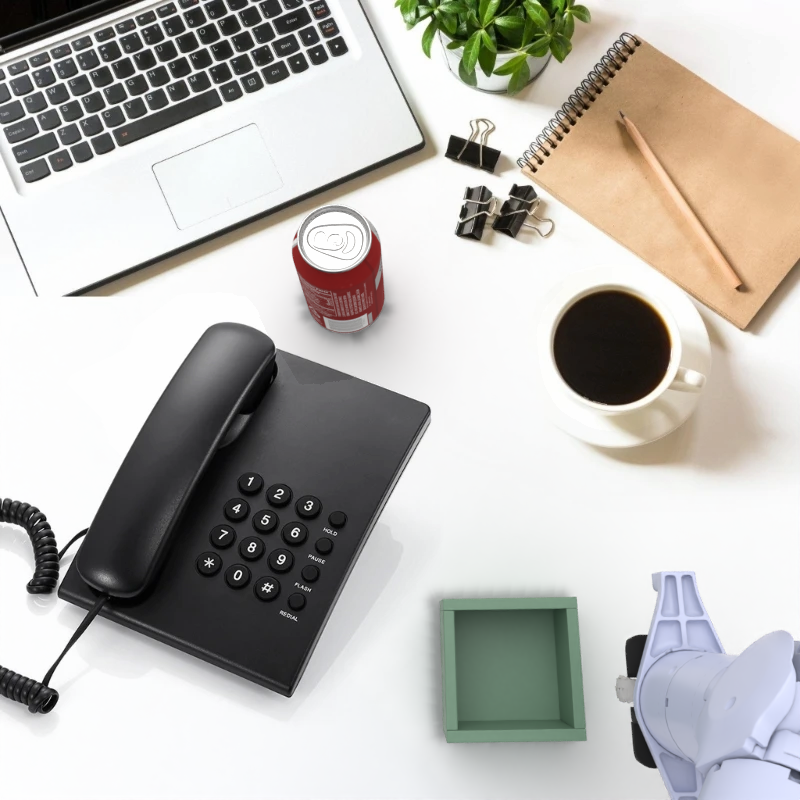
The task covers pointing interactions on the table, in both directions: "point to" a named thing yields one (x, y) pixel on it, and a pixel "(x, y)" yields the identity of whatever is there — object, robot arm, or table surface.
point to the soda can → (340, 268)
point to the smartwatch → (625, 689)
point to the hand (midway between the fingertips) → (644, 690)
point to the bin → (511, 670)
